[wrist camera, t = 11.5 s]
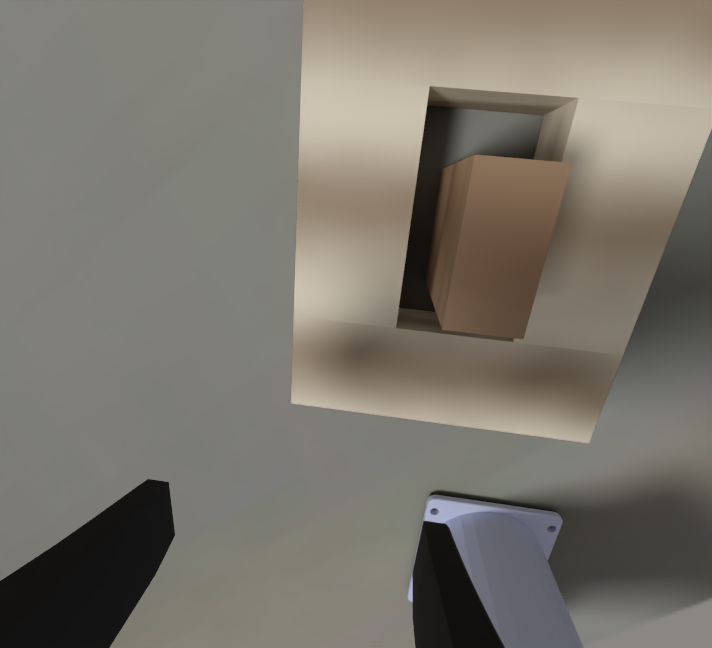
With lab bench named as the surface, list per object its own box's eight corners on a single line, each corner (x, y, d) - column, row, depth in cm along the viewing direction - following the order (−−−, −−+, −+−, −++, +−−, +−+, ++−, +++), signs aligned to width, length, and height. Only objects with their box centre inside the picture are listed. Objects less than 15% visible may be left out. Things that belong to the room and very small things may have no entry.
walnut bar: (475, 284, 18) (523, 339, 11) (424, 278, 18) (441, 329, 11) (499, 174, 16) (572, 162, 9) (442, 169, 16) (474, 154, 10)
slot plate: (560, 406, 19) (588, 443, 17) (305, 373, 20) (291, 403, 17) (704, -16, 13) (789, -72, 10) (324, -39, 14) (306, -96, 11)
